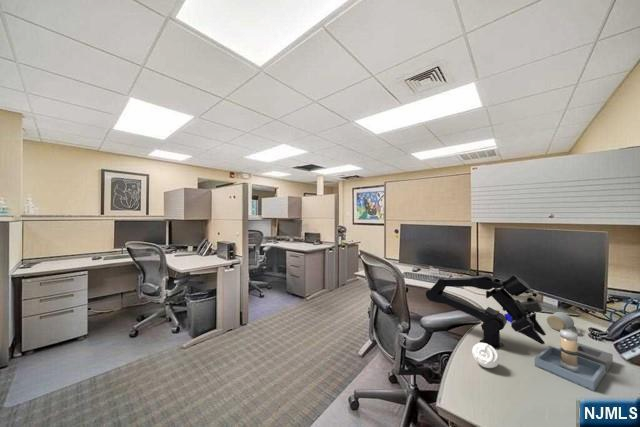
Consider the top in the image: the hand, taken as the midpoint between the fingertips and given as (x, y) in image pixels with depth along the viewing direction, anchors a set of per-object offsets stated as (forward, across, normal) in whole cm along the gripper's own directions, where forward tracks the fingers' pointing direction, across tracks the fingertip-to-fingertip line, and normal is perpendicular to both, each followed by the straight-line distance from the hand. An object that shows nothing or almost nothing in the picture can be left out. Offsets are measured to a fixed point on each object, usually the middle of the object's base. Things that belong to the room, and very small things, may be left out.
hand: (544, 339), depth 85 cm
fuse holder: (+14, +14, -2) cm, 20 cm away
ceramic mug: (+10, +42, +2) cm, 43 cm away
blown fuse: (+10, 0, +1) cm, 10 cm away
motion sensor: (-4, -20, +17) cm, 26 cm away
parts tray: (+10, 0, +1) cm, 10 cm away
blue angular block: (-1, +33, +14) cm, 36 cm away
